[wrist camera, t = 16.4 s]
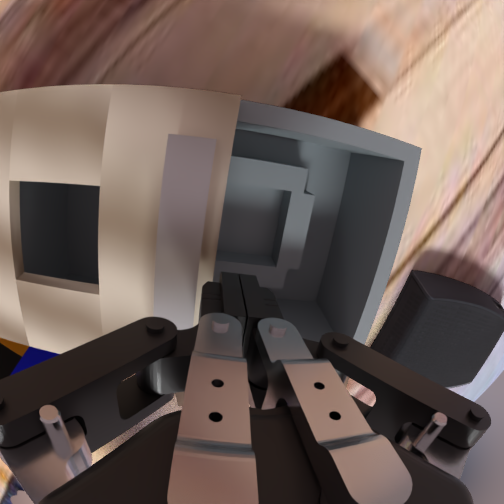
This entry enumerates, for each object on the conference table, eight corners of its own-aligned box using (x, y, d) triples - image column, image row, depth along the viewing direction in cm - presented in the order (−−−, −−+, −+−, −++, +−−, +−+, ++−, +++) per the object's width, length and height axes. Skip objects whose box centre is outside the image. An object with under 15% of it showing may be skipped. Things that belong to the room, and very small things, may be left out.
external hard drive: (453, 377, 35) (468, 394, 31) (352, 369, 30) (366, 394, 26) (501, 298, 31) (520, 312, 27) (412, 260, 26) (437, 278, 23)
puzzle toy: (84, 329, 24) (43, 407, 15) (68, 392, 27) (41, 461, 18) (-1, 280, 22) (-60, 336, 12) (-4, 350, 24) (-44, 407, 15)
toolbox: (320, 306, 26) (355, 365, 19) (64, 277, 22) (19, 329, 15) (359, 142, 22) (421, 148, 14) (70, 104, 18) (10, 94, 11)
